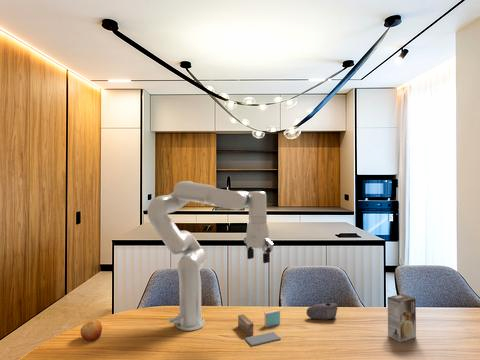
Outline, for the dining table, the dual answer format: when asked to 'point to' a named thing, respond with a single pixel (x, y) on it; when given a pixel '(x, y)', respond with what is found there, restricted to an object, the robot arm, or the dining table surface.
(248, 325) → the brown rectangular pillar
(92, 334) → the fruit
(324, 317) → the perforated stone tool
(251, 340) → the mat
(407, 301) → the coffee box
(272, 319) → the tile
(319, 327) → the dining table surface
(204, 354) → the dining table surface
